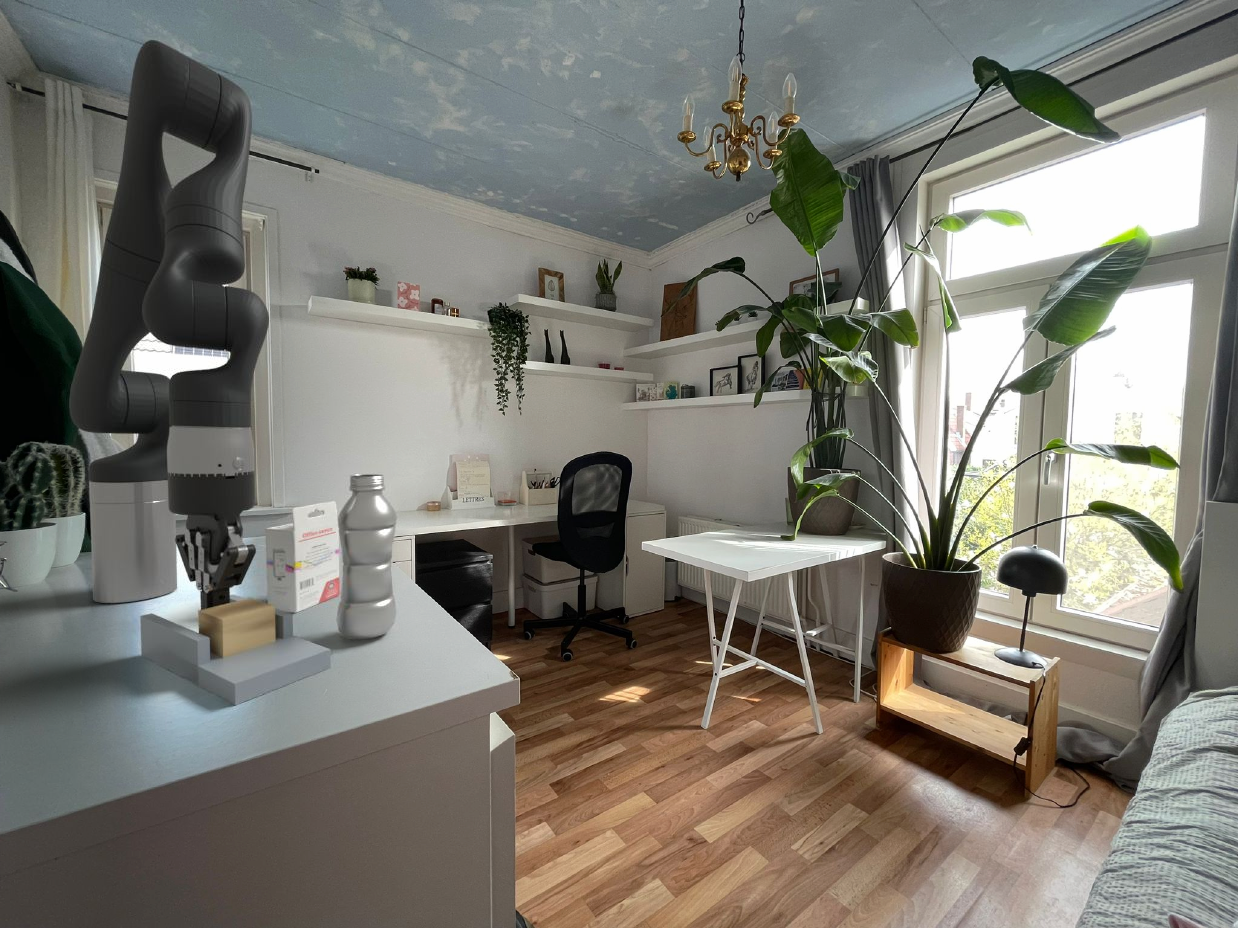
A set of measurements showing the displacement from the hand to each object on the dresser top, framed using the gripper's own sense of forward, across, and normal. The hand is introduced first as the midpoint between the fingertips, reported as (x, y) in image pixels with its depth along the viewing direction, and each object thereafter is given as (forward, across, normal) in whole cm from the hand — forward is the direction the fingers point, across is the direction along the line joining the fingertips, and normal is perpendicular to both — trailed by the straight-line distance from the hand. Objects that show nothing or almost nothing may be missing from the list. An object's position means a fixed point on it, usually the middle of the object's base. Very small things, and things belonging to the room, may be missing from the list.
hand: (215, 621), depth 58 cm
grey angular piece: (+4, +4, 0) cm, 5 cm away
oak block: (+2, +4, 0) cm, 5 cm away
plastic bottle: (+4, +9, +12) cm, 16 cm away
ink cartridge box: (+4, -9, +15) cm, 18 cm away
